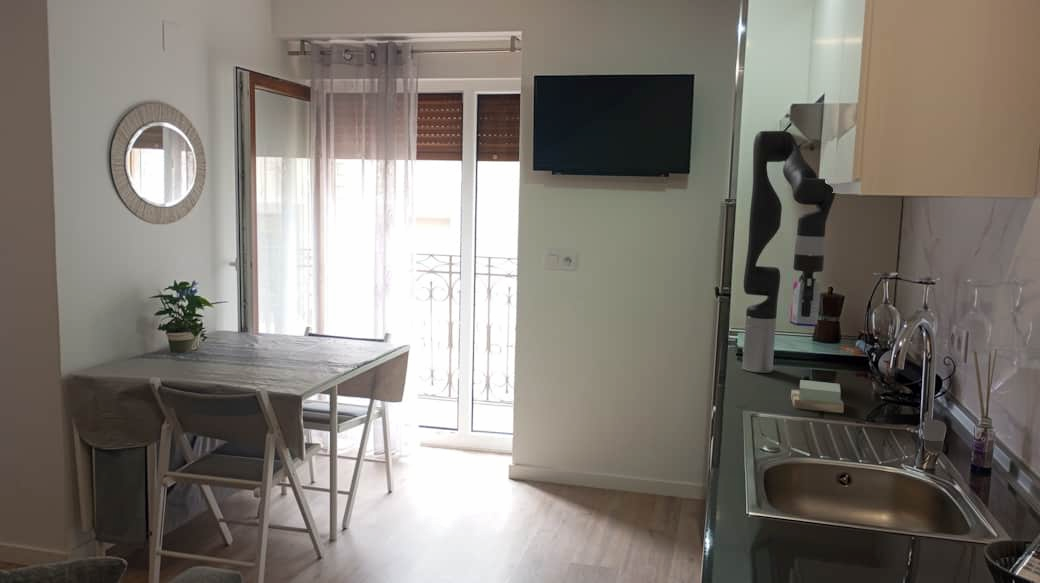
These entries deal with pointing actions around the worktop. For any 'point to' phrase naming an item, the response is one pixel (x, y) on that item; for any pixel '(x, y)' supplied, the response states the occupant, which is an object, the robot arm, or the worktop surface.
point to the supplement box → (797, 306)
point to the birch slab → (815, 404)
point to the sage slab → (819, 391)
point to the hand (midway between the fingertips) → (804, 314)
